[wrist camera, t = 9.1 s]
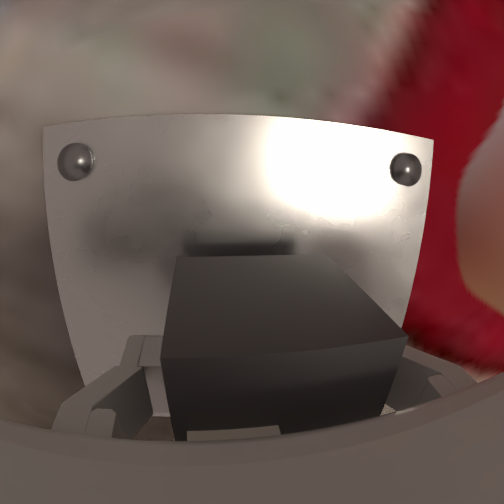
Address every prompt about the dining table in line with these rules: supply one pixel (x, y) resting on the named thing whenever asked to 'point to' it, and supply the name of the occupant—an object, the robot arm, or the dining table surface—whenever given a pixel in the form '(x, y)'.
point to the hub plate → (221, 211)
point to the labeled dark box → (273, 347)
